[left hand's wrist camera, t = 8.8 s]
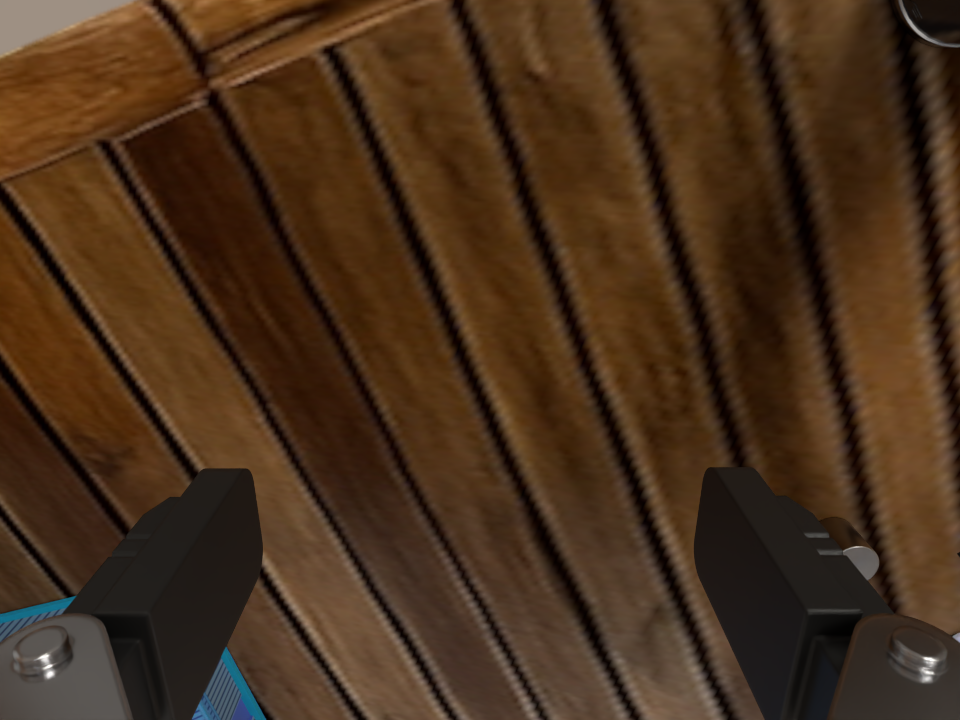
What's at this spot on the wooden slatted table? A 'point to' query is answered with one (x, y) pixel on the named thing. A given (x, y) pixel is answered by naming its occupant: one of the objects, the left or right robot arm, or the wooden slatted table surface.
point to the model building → (226, 701)
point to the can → (852, 545)
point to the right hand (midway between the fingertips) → (920, 586)
